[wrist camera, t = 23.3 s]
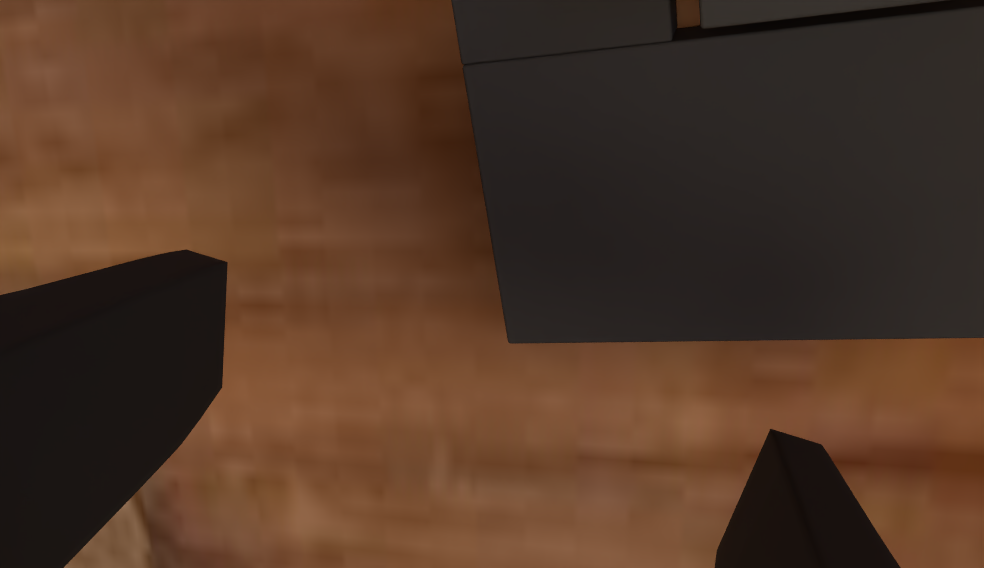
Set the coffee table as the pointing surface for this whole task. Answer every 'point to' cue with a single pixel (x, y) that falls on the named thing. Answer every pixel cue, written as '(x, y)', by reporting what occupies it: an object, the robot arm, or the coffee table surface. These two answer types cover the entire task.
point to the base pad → (729, 171)
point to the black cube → (783, 9)
